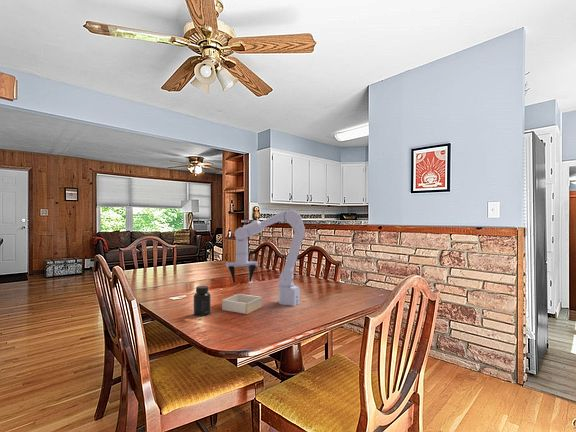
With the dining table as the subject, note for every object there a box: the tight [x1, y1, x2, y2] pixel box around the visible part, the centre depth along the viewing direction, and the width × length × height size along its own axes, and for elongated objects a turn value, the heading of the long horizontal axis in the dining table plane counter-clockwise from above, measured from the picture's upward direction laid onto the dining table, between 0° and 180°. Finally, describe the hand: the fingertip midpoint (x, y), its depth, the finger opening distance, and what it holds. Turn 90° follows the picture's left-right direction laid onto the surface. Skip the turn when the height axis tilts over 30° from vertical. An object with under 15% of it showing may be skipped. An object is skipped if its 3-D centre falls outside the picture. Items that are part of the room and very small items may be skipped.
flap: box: [246, 296, 263, 315], centre depth 134 cm, size 1×12×4 cm, turn 153°
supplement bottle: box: [193, 285, 212, 317], centre depth 129 cm, size 7×7×12 cm
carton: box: [221, 293, 261, 315], centre depth 137 cm, size 12×12×5 cm
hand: (242, 281), depth 147 cm, fingers open, 7 cm apart
